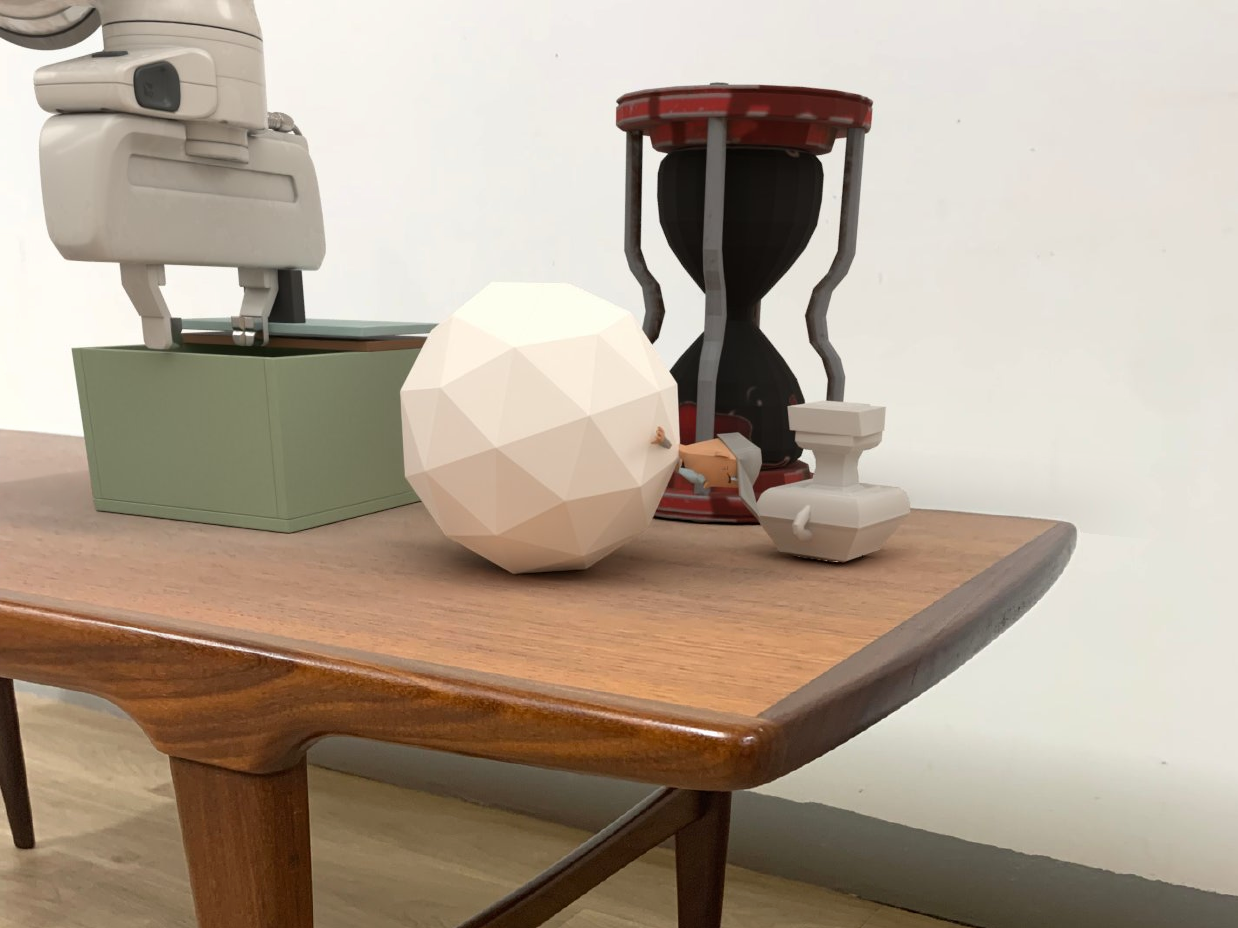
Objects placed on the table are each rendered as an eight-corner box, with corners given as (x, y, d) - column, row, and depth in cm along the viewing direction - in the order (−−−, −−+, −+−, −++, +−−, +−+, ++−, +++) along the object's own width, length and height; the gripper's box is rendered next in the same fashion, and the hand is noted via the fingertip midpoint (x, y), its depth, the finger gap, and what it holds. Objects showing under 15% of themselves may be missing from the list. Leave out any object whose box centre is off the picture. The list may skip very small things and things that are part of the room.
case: (94, 510, 85) (69, 337, 80) (274, 476, 100) (261, 329, 95) (289, 533, 78) (273, 347, 74) (450, 493, 93) (444, 337, 89)
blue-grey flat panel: (168, 328, 87) (161, 267, 86) (257, 325, 95) (252, 268, 93) (362, 336, 81) (358, 271, 80) (441, 332, 89) (438, 272, 87)
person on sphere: (328, 528, 63) (727, 607, 60) (383, 207, 61) (798, 273, 58) (423, 562, 77) (749, 628, 74) (470, 303, 75) (807, 360, 72)
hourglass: (580, 514, 86) (582, 84, 76) (646, 481, 100) (655, 115, 90) (821, 532, 82) (856, 78, 72) (854, 494, 96) (887, 112, 86)
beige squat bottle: (846, 577, 70) (859, 414, 66) (740, 561, 73) (748, 405, 70) (915, 551, 76) (930, 402, 73) (815, 538, 80) (825, 394, 76)
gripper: (265, 117, 85) (279, 341, 90) (5, 68, 68) (42, 348, 73) (342, 116, 83) (352, 346, 88) (94, 65, 66) (125, 354, 71)
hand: (210, 347), depth 81 cm, fingers open, 6 cm apart
